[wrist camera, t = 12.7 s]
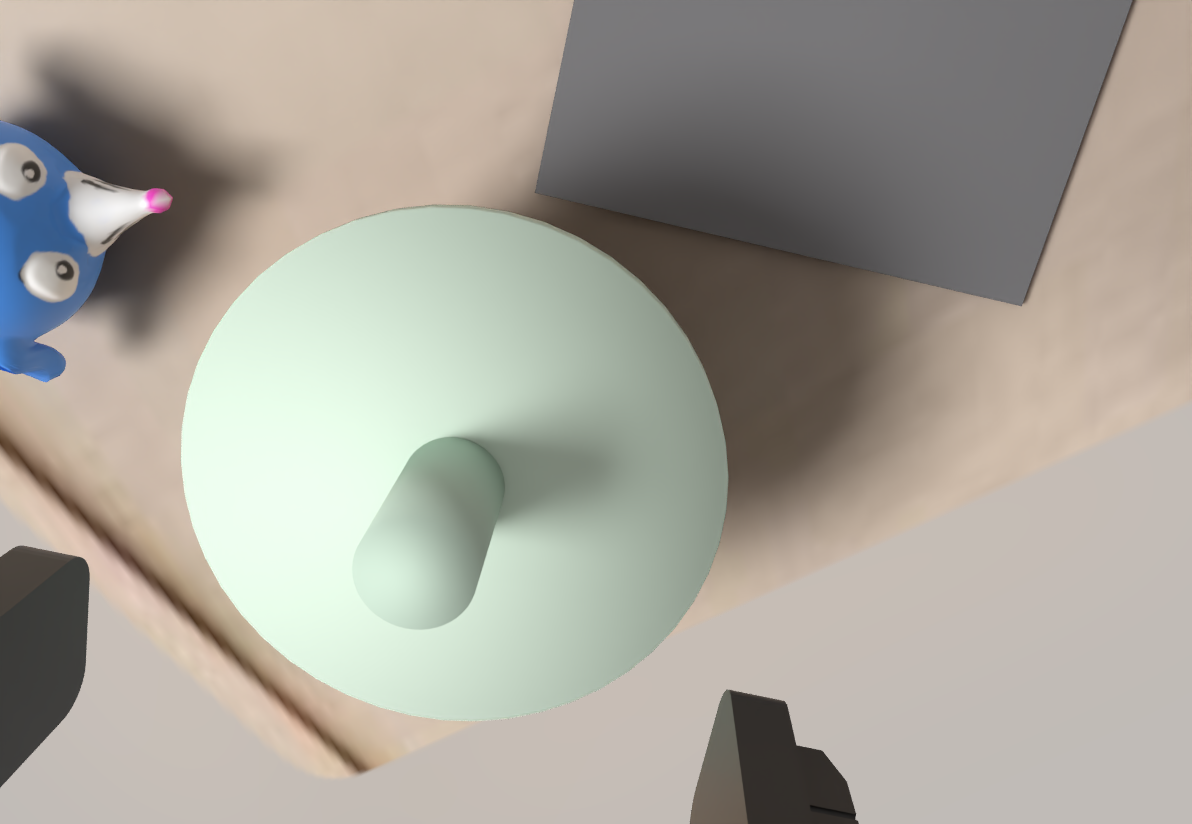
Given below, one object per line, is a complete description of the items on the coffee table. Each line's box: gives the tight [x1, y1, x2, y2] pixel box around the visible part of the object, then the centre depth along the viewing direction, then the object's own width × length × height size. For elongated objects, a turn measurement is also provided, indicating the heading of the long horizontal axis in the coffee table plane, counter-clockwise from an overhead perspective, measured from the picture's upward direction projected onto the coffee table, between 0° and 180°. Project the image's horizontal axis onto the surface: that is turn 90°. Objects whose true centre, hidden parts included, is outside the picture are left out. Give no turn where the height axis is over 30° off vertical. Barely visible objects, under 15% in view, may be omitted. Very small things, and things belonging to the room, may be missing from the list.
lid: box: [181, 205, 728, 721], centre depth 29 cm, size 17×17×7 cm
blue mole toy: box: [0, 120, 173, 382], centre depth 37 cm, size 12×12×8 cm
